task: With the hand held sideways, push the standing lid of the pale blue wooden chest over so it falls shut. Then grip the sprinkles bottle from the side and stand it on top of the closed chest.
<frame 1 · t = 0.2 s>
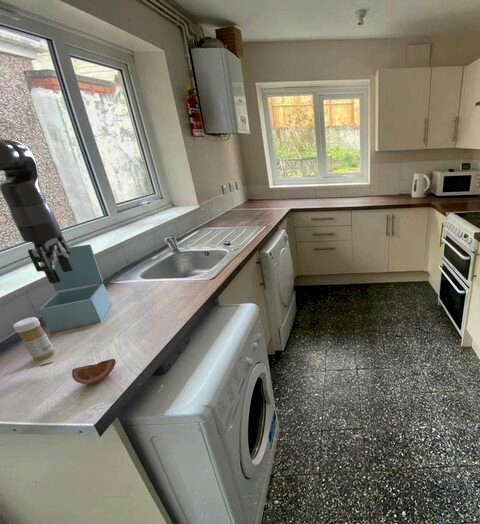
hand: (62, 276, 82), 22 cm above the worktop, tool pointing down, fingers open, 8 cm apart
chest: (83, 317, 103), on the worktop
lid: (73, 267, 103), point 16 cm above the worktop, hinge at 100.0°
fruit slice: (100, 379, 74), on the worktop
sprinkles bottle: (48, 361, 81), on the worktop
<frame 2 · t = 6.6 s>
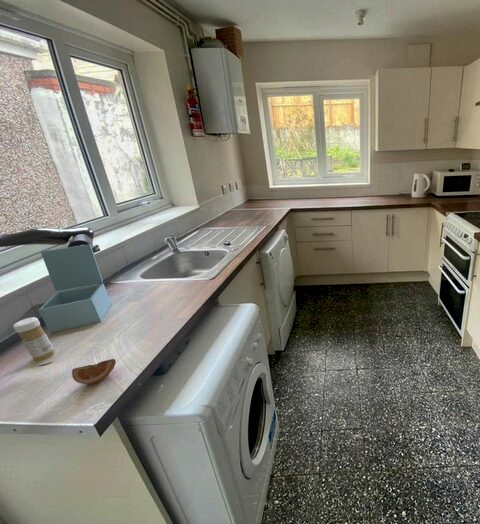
hand: (78, 257, 109), 18 cm above the worktop, tool horizontal, fingers closed
nothing on the worktop moved.
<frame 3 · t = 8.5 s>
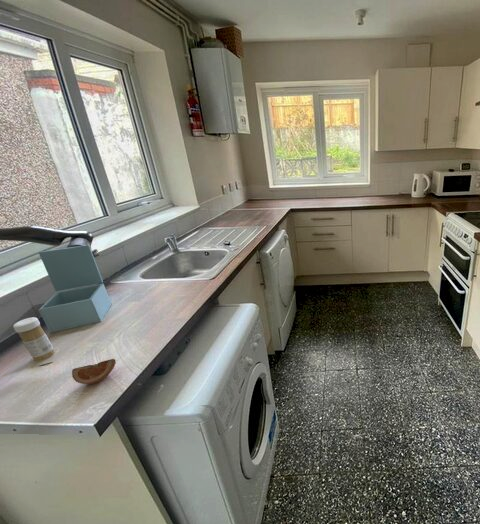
hand: (76, 262, 103), 18 cm above the worktop, tool horizontal, fingers closed
lid: (72, 267, 102), point 16 cm above the worktop, hinge at 94.8°, touching gripper
everything else where it was.
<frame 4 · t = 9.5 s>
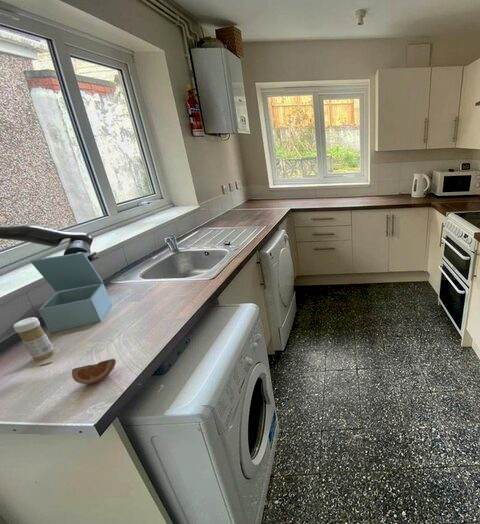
hand: (74, 265, 100), 18 cm above the worktop, tool horizontal, fingers closed
lid: (69, 272, 100), point 16 cm above the worktop, hinge at 68.5°
everything else where it was.
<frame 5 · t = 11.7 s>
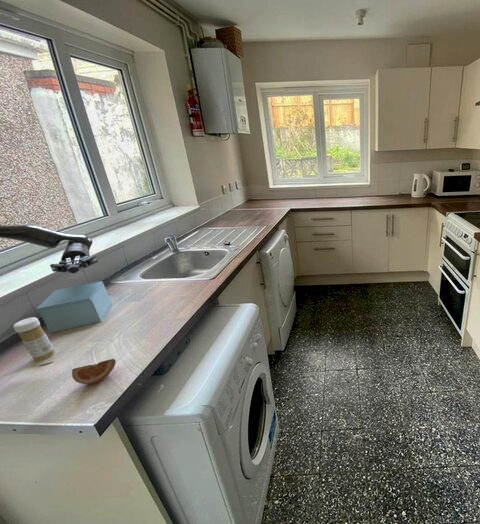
hand: (73, 270, 96), 18 cm above the worktop, tool horizontal, fingers closed
lid: (72, 295, 99), point 9 cm above the worktop, hinge at -0.2°
everything else where it was.
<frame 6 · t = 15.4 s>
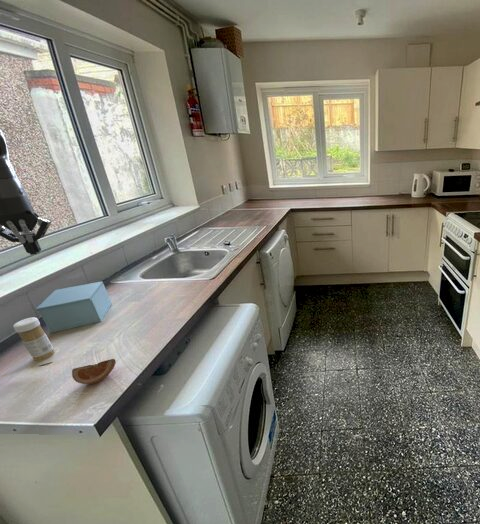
hand: (35, 253, 86), 27 cm above the worktop, tool pointing down, fingers closed
nothing on the worktop moved.
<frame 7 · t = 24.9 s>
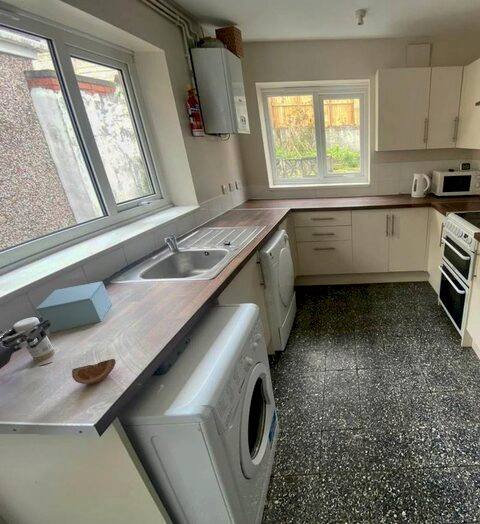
hand: (38, 323, 79), 11 cm above the worktop, tool horizontal, fingers closed on sprinkles bottle, 4 cm apart
sprinkles bottle: (48, 361, 81), on the worktop, touching gripper
everything else where it was.
when the fingers open (21 cm above the worktop, at t = 33.5 s): sprinkles bottle stays where it is, resting on lid.
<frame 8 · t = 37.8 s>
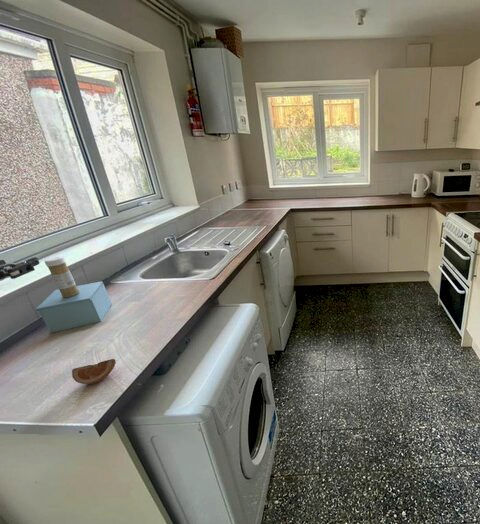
hand: (20, 261, 82), 26 cm above the worktop, tool horizontal, fingers open, 8 cm apart
lid: (72, 295, 99), point 9 cm above the worktop, hinge at -0.2°, touching chest, sprinkles bottle
sprinkles bottle: (71, 295, 98), point 9 cm above the worktop, touching lid
everything else where it was.
at the end: lid at +0° (first picture: +100°); sprinkles bottle inside the target area on the chest (1.2 cm from its centre), point 9.5 cm above the chest's base; sprinkles bottle tilted 0° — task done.
